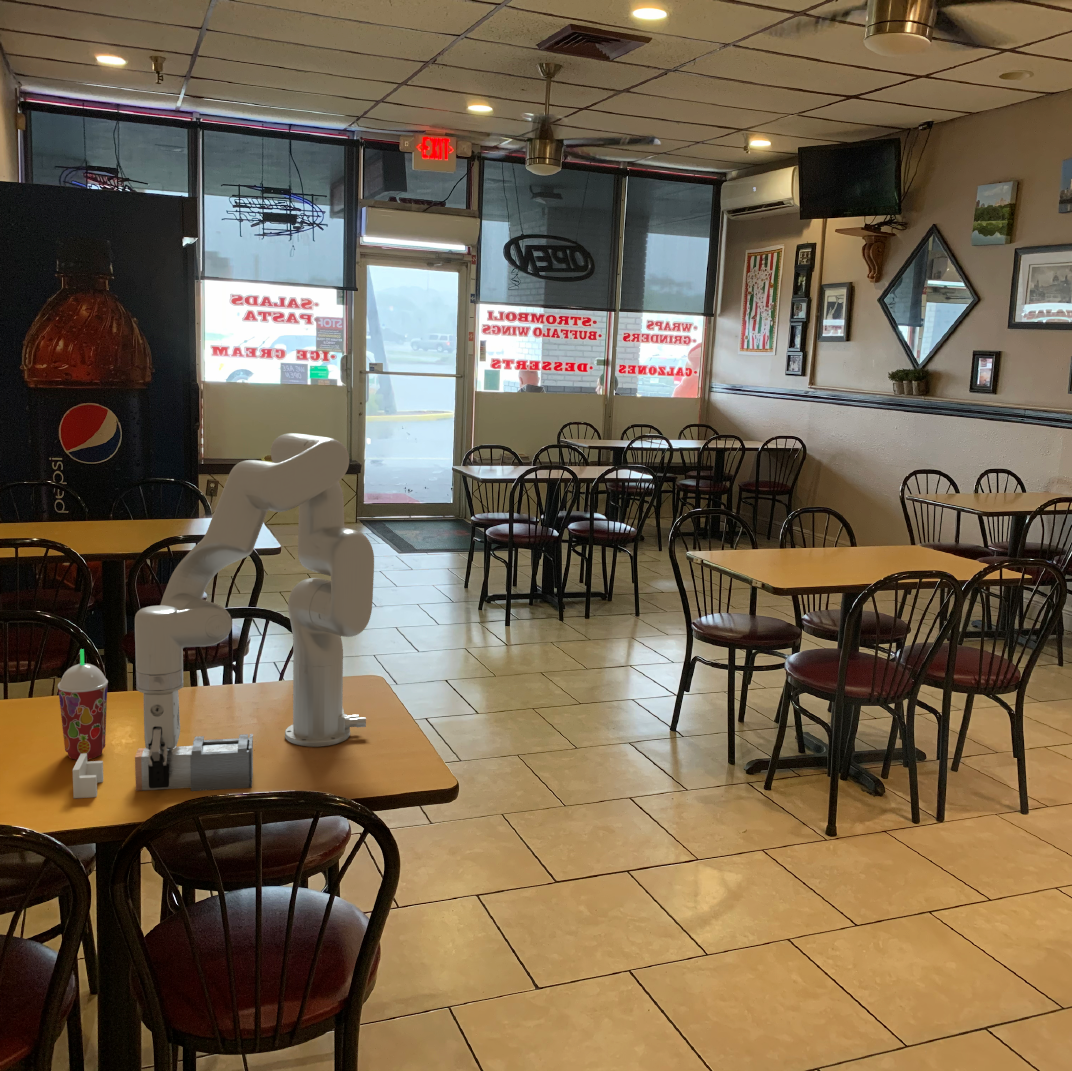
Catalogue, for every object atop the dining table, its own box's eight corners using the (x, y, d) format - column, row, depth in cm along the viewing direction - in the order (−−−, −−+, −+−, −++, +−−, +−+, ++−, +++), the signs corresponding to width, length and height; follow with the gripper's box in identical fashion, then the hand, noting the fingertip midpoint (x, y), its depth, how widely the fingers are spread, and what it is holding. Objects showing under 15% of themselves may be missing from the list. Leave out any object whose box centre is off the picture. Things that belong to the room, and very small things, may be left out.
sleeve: (252, 772, 183) (252, 733, 182) (251, 787, 177) (251, 747, 175) (194, 775, 181) (193, 736, 180) (190, 791, 174) (190, 750, 173)
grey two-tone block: (243, 775, 181) (243, 743, 180) (242, 784, 178) (242, 751, 177) (138, 781, 177) (138, 748, 176) (135, 790, 173) (134, 757, 172)
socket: (103, 779, 177) (102, 752, 176) (96, 796, 170) (95, 768, 170) (81, 780, 176) (80, 753, 176) (73, 798, 170) (72, 769, 169)
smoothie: (116, 746, 192) (113, 644, 189) (99, 763, 184) (96, 656, 181) (71, 745, 192) (68, 642, 189) (52, 762, 184) (48, 655, 180)
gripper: (178, 694, 166) (180, 796, 169) (187, 663, 182) (189, 757, 185) (129, 696, 164) (131, 799, 167) (143, 664, 181) (145, 759, 183)
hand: (161, 776), depth 176 cm, fingers open, 7 cm apart
